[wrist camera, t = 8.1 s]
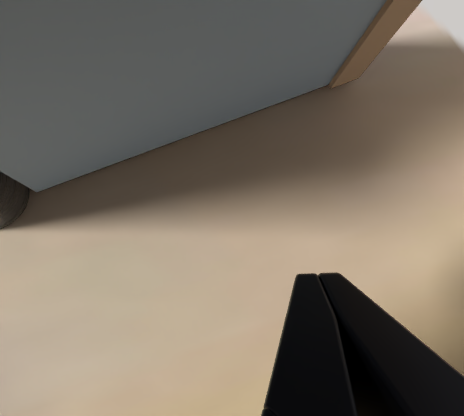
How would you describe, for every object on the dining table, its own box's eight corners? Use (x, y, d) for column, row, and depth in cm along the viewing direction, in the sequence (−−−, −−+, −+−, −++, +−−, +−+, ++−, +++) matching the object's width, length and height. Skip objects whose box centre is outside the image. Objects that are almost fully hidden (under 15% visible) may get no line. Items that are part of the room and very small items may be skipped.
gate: (38, 197, 16) (-457, -77, 4) (21, 150, 16) (-494, -247, 4) (358, 78, 18) (698, -338, 6) (339, 38, 18) (626, -437, 6)
